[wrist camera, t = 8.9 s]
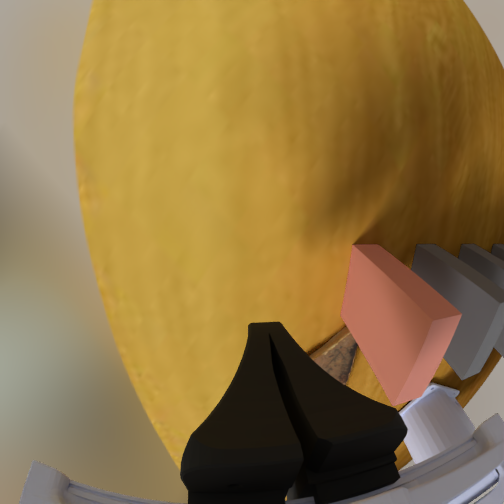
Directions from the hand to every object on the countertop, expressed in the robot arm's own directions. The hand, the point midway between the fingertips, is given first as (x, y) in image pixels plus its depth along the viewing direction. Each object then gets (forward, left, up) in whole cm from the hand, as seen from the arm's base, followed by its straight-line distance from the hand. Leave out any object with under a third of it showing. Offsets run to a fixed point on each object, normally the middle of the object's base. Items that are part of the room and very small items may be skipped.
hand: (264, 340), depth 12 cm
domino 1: (-10, -6, -5) cm, 13 cm away
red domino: (-6, -3, -5) cm, 8 cm away
